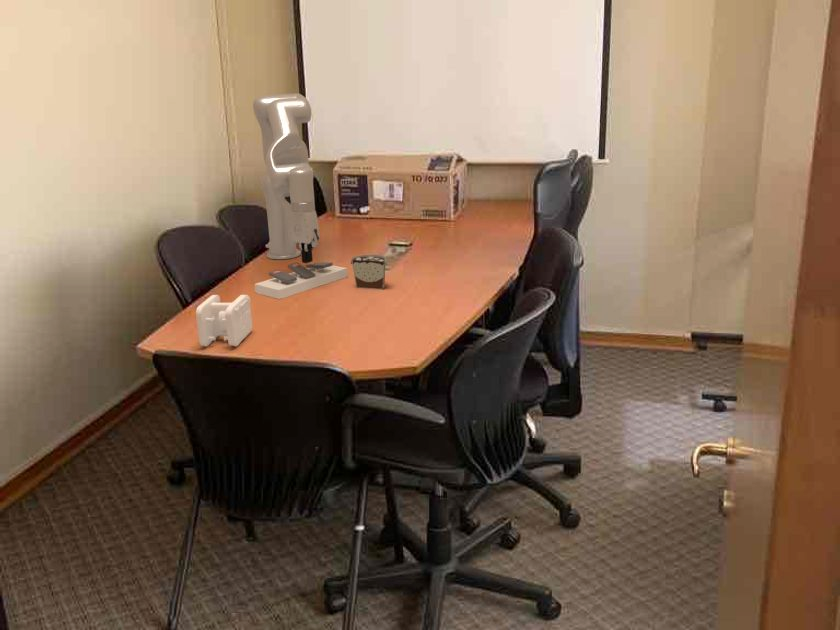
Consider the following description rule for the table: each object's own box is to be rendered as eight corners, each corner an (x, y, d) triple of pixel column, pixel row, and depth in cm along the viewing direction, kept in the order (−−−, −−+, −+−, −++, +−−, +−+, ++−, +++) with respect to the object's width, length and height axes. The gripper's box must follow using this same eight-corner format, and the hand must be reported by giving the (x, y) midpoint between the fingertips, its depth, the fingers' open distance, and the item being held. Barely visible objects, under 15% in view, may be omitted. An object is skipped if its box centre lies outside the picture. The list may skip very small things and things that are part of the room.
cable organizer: (219, 330, 249) (214, 292, 246) (255, 331, 248) (250, 292, 244) (199, 349, 235) (194, 308, 232) (237, 350, 234) (232, 309, 230)
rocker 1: (268, 275, 284) (268, 272, 284) (278, 272, 287) (278, 269, 286) (287, 283, 279) (287, 280, 278) (296, 280, 282) (296, 277, 281)
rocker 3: (306, 267, 296) (305, 264, 295) (315, 265, 298) (314, 261, 298) (324, 268, 290) (323, 264, 289) (332, 265, 292) (332, 262, 292)
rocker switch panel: (255, 292, 283) (254, 281, 282) (323, 271, 304) (322, 260, 303) (279, 299, 275) (278, 287, 274) (347, 276, 297) (346, 265, 295)
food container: (394, 284, 286) (392, 254, 283) (387, 290, 280) (385, 259, 277) (359, 282, 290) (357, 253, 287) (352, 287, 284) (350, 258, 281)
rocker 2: (287, 267, 289) (288, 264, 289) (296, 264, 292) (297, 261, 292) (305, 279, 285) (306, 276, 284) (314, 276, 288) (315, 273, 287)
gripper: (278, 206, 281) (283, 261, 287) (310, 211, 272) (314, 268, 278) (296, 201, 287) (300, 255, 293) (327, 207, 277) (331, 263, 283)
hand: (307, 261), depth 285 cm, fingers closed
